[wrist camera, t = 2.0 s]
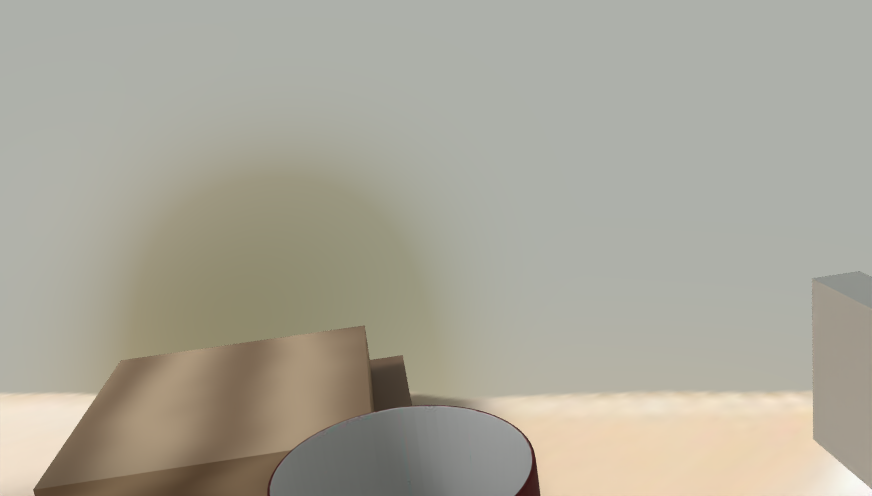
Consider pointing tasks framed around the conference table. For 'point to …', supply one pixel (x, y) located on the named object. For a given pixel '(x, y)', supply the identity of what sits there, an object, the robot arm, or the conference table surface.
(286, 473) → the mug
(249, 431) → the stand
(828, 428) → the robot arm
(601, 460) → the conference table surface
